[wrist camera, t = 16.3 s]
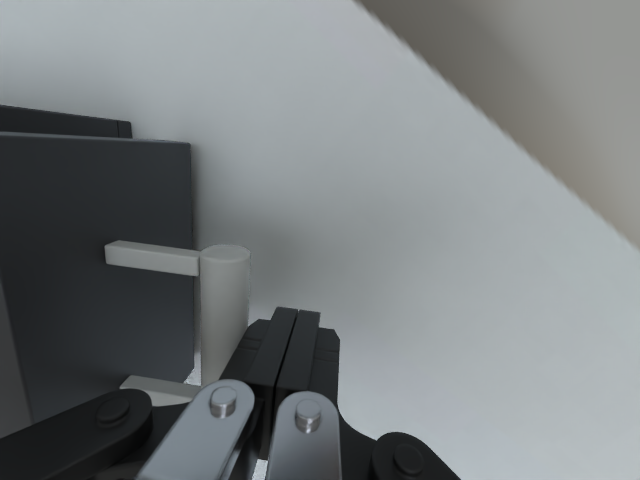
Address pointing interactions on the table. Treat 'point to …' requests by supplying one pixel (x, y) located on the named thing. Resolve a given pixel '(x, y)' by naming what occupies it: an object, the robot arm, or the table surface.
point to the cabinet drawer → (106, 276)
